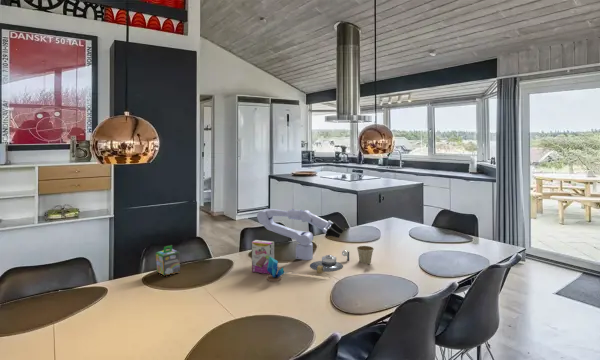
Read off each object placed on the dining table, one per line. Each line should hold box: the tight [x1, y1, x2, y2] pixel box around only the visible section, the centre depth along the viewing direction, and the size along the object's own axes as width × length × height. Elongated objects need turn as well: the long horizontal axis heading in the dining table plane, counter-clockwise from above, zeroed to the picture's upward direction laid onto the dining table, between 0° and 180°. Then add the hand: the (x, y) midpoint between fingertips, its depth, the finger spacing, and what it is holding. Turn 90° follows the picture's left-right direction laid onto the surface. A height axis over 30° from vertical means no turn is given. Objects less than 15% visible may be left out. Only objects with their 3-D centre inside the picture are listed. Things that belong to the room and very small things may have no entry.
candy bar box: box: [251, 239, 275, 275], centre depth 193 cm, size 11×5×16 cm, turn 71°
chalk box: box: [155, 244, 181, 275], centre depth 193 cm, size 9×9×15 cm
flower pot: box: [356, 245, 375, 265], centre depth 206 cm, size 9×9×9 cm
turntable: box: [309, 260, 344, 274], centre depth 198 cm, size 18×21×4 cm
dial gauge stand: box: [341, 249, 350, 261], centre depth 209 cm, size 5×4×7 cm
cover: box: [321, 254, 337, 265], centre depth 204 cm, size 8×8×4 cm
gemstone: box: [266, 257, 284, 282], centre depth 183 cm, size 7×9×12 cm
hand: (341, 233), depth 206 cm, fingers open, 7 cm apart
